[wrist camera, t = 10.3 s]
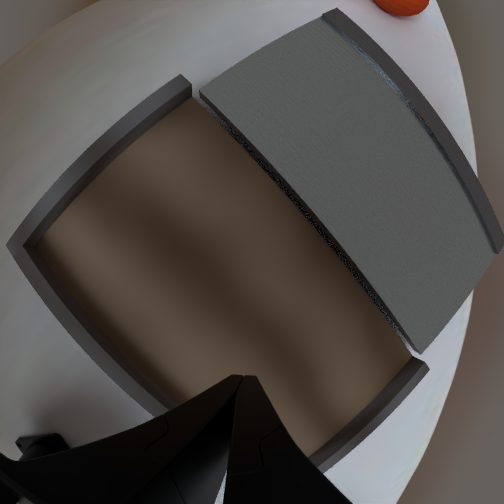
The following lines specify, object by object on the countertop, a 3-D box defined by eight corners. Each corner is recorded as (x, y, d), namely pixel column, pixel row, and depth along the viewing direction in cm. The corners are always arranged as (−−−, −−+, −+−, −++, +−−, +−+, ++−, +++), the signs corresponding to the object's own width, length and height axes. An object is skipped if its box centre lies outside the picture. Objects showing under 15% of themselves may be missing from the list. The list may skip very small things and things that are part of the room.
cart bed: (273, 468, 19) (285, 499, 15) (37, 245, 16) (5, 244, 12) (399, 353, 21) (429, 369, 17) (183, 104, 18) (180, 73, 14)
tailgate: (423, 356, 17) (505, 240, 17) (198, 88, 14) (336, 7, 14) (411, 348, 18) (493, 239, 18) (200, 99, 16) (330, 19, 16)
